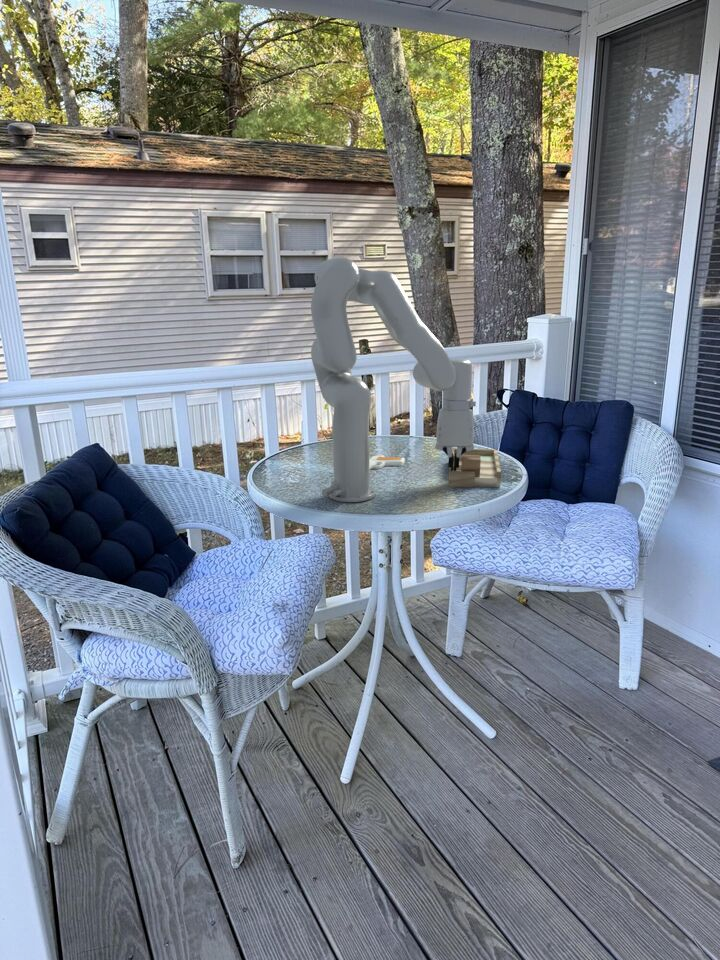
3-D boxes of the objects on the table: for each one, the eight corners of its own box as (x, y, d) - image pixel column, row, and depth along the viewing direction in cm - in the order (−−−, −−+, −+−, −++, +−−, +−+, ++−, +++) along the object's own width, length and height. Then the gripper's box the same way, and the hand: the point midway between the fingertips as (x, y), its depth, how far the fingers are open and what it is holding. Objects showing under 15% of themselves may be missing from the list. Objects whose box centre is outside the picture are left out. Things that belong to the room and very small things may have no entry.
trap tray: (500, 488, 174) (501, 473, 173) (448, 486, 176) (449, 471, 175) (496, 462, 198) (496, 449, 197) (450, 461, 201) (451, 448, 199)
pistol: (384, 481, 185) (349, 476, 189) (408, 463, 202) (375, 459, 206) (384, 473, 184) (349, 469, 188) (408, 455, 201) (375, 452, 206)
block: (479, 477, 176) (480, 459, 174) (461, 476, 176) (462, 459, 175) (478, 472, 180) (479, 455, 179) (461, 471, 181) (461, 454, 180)
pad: (493, 468, 192) (494, 461, 191) (473, 468, 193) (473, 460, 192) (493, 463, 198) (493, 455, 197) (473, 463, 199) (473, 455, 198)
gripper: (483, 403, 176) (480, 467, 181) (429, 402, 178) (427, 465, 183) (484, 408, 169) (481, 474, 174) (428, 407, 171) (426, 472, 176)
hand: (453, 470), depth 179 cm, fingers closed
